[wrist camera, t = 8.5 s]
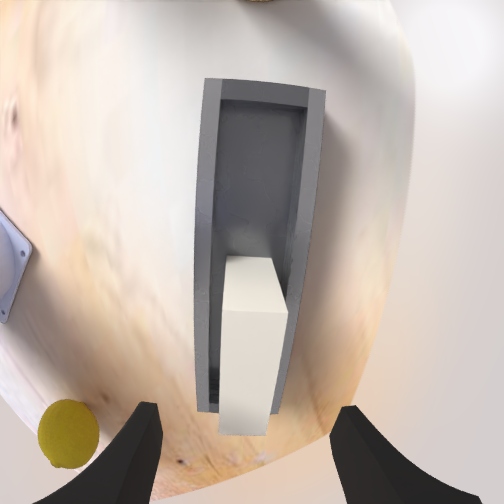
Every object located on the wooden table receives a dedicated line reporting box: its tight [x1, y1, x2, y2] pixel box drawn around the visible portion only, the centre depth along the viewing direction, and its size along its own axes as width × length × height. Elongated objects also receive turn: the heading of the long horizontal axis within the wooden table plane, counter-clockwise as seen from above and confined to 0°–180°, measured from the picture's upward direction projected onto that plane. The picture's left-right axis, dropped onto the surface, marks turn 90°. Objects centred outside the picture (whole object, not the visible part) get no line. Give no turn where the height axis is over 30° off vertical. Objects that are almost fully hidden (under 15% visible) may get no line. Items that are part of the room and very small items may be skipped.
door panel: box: [219, 255, 288, 436], centre depth 15 cm, size 8×2×6 cm, turn 175°
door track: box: [194, 78, 326, 414], centre depth 17 cm, size 20×6×3 cm, turn 175°
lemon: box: [38, 399, 99, 469], centre depth 18 cm, size 6×6×8 cm
